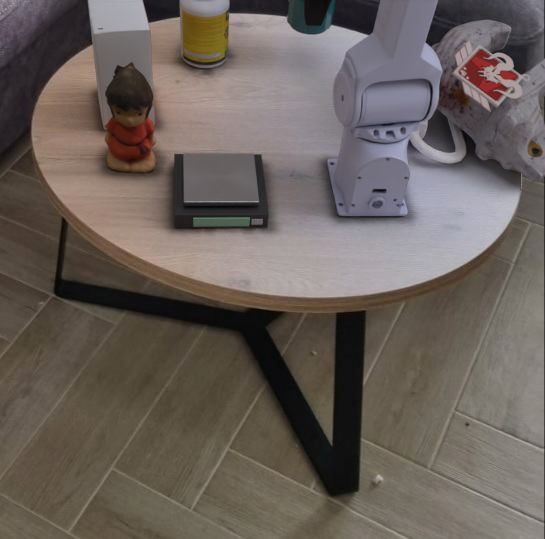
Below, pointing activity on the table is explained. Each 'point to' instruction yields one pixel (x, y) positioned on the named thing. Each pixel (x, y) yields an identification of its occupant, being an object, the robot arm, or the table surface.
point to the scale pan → (219, 179)
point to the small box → (119, 44)
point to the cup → (298, 19)
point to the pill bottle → (204, 32)
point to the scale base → (219, 214)
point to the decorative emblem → (487, 76)
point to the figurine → (130, 122)
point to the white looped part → (435, 154)
